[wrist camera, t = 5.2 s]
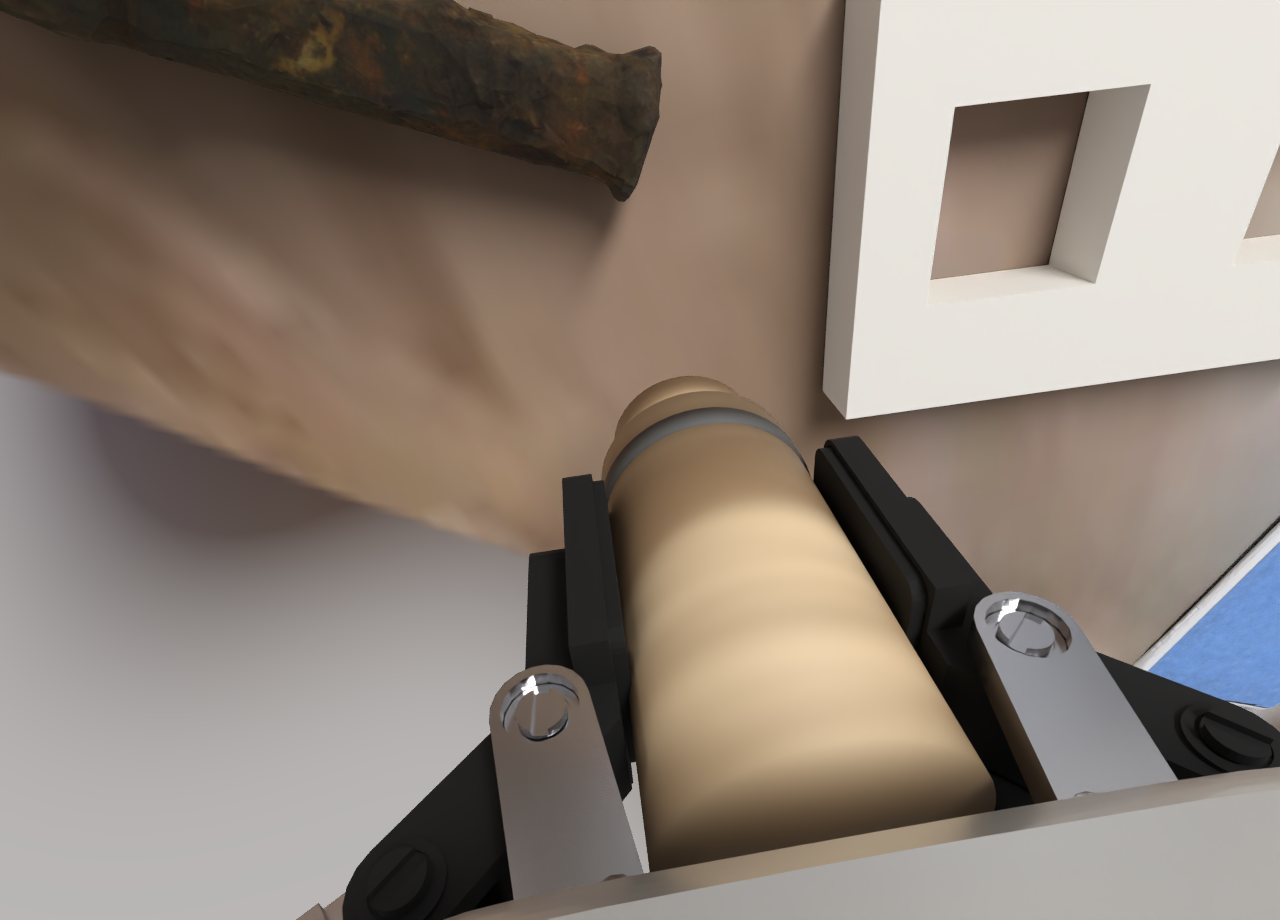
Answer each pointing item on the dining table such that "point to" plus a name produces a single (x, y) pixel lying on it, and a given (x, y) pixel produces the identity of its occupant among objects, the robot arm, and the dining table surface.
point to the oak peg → (762, 646)
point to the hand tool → (404, 70)
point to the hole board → (1092, 208)
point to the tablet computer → (1230, 634)
